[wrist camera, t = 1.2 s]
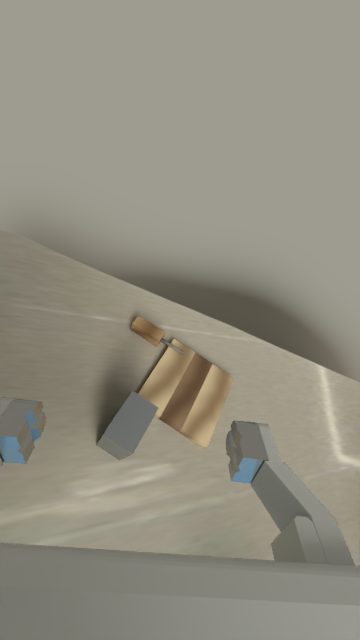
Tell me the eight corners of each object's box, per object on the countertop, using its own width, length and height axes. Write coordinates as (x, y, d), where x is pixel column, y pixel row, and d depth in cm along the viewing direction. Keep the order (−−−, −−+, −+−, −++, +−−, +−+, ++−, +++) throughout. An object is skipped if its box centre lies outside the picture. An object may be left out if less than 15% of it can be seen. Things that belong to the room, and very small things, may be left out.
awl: (130, 329, 48) (132, 323, 46) (136, 321, 49) (138, 315, 47) (179, 360, 47) (182, 355, 46) (184, 351, 49) (187, 346, 47)
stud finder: (96, 444, 36) (102, 434, 28) (120, 408, 40) (132, 390, 32) (119, 460, 36) (133, 454, 28) (141, 422, 40) (159, 408, 32)
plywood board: (132, 401, 41) (134, 399, 40) (172, 341, 50) (174, 338, 49) (203, 448, 41) (206, 448, 40) (230, 380, 50) (233, 378, 49)
